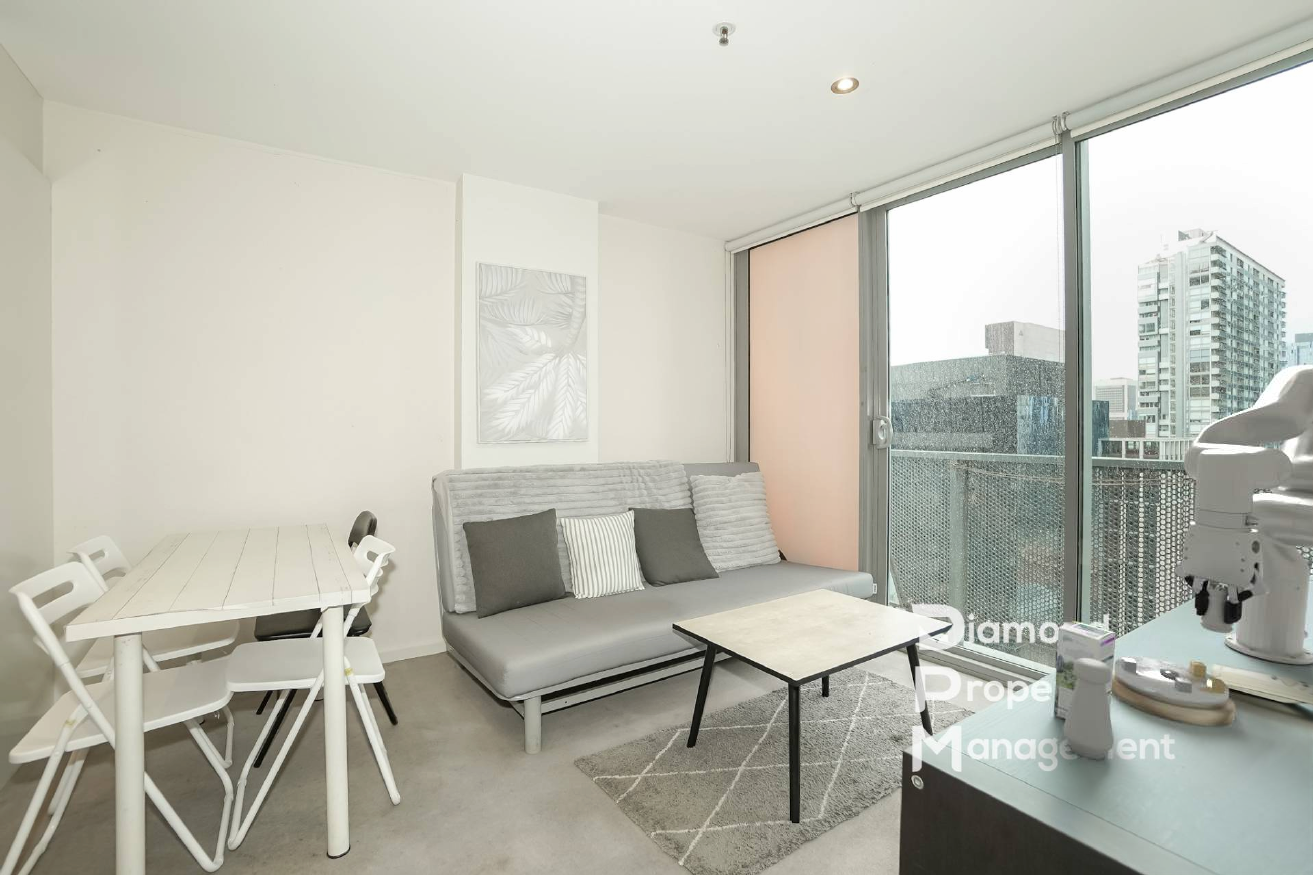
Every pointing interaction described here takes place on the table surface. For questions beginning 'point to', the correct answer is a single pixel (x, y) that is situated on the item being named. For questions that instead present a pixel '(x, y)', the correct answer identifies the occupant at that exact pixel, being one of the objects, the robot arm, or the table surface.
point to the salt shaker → (1089, 711)
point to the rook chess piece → (1216, 610)
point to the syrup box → (1075, 645)
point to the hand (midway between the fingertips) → (1217, 617)
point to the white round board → (1172, 682)
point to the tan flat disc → (1174, 708)
